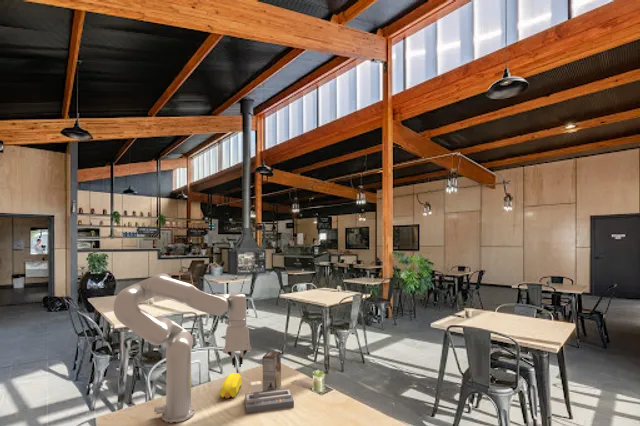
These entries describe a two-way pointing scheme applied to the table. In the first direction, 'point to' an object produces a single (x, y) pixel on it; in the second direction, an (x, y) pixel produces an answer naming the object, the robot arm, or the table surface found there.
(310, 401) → the table surface
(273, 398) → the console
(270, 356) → the coffee box
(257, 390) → the fader tab
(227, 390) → the yellow rounded capsule
